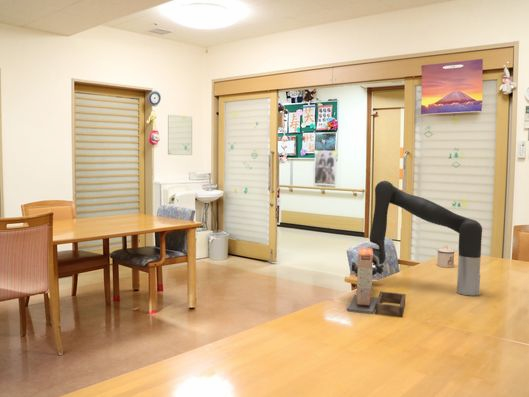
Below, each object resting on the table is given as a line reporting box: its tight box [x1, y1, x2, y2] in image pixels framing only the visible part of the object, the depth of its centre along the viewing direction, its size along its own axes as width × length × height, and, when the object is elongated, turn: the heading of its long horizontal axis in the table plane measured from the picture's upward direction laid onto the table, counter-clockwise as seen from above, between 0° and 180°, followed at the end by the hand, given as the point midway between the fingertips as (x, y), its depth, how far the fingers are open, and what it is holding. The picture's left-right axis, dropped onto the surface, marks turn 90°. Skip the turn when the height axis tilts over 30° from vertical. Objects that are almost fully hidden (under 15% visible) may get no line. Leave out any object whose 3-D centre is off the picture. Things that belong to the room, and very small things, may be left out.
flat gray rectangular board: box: [346, 294, 378, 315], centre depth 201 cm, size 10×20×1 cm, turn 161°
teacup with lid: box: [436, 245, 455, 269], centre depth 275 cm, size 12×9×12 cm
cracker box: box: [356, 247, 373, 305], centre depth 200 cm, size 14×6×21 cm, turn 168°
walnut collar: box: [374, 291, 406, 318], centre depth 197 cm, size 10×18×4 cm, turn 161°
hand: (364, 272), depth 201 cm, fingers closed on cracker box, 6 cm apart
